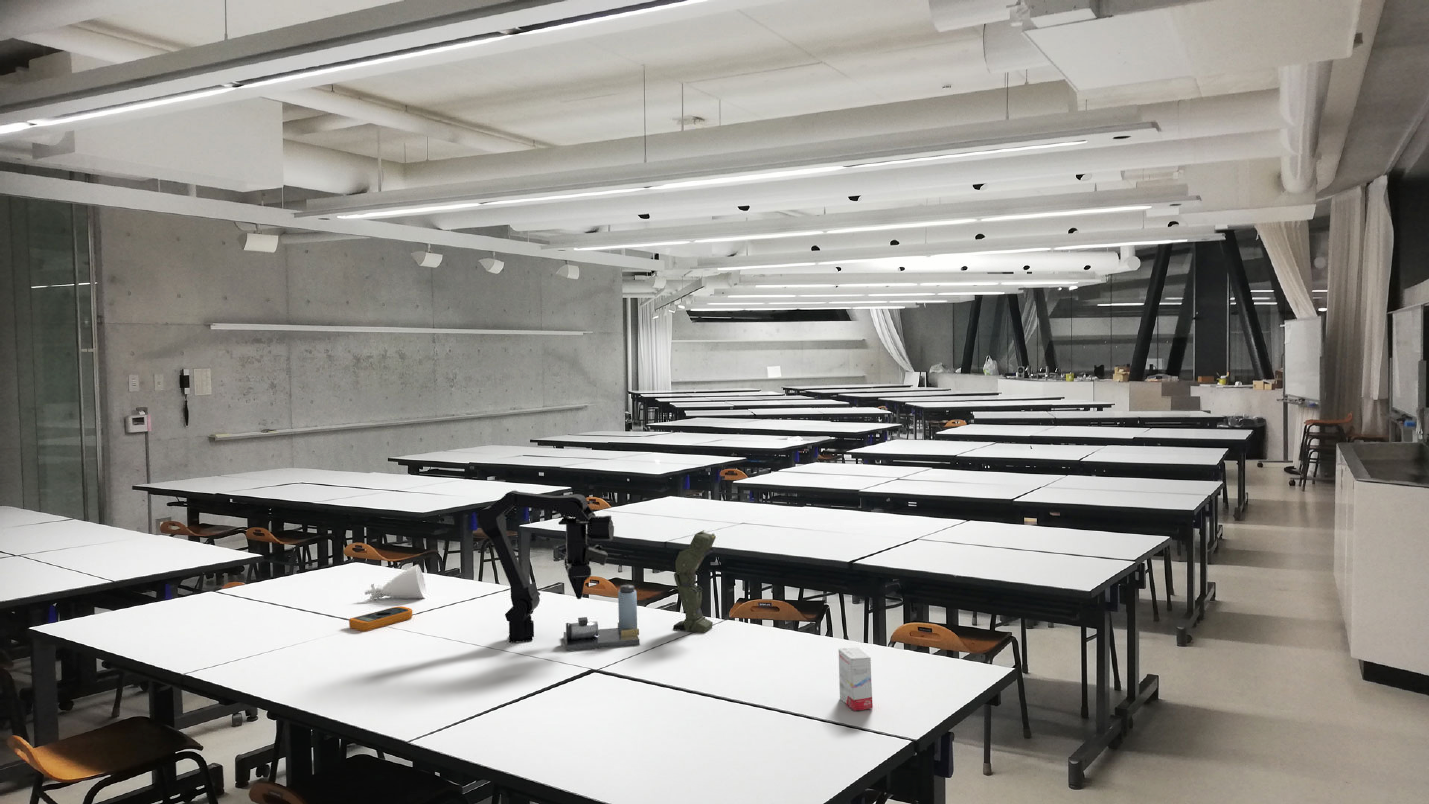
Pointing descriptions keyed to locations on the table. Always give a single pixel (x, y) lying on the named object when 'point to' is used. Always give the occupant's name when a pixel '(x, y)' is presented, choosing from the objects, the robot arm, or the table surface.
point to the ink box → (855, 678)
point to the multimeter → (380, 618)
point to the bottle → (627, 607)
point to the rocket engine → (402, 586)
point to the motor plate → (602, 640)
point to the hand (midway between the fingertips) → (577, 594)
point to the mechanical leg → (692, 583)
